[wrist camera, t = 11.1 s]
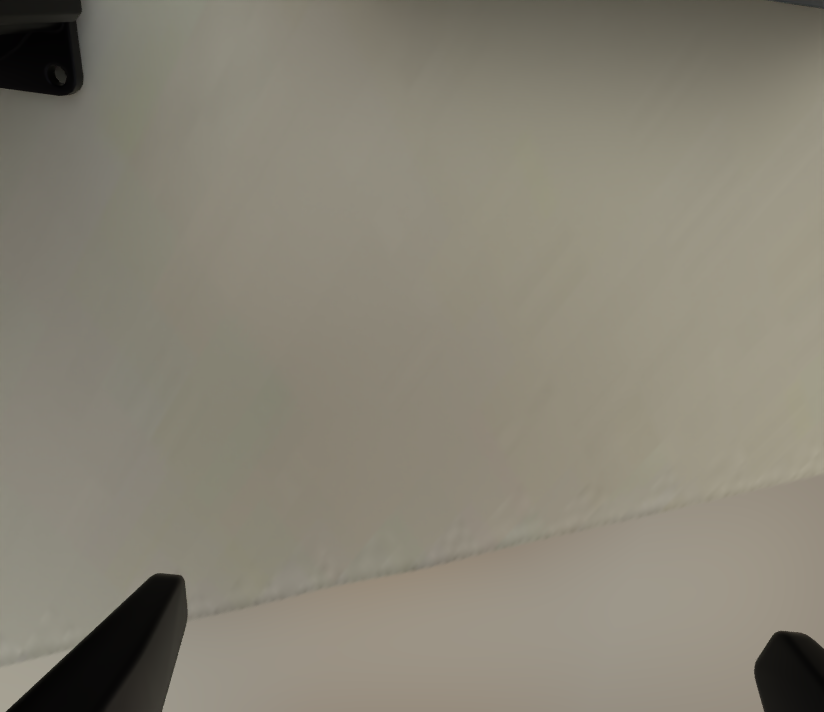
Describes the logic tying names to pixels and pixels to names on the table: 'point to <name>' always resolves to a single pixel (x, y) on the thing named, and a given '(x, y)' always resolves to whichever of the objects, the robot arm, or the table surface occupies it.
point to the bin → (804, 2)
